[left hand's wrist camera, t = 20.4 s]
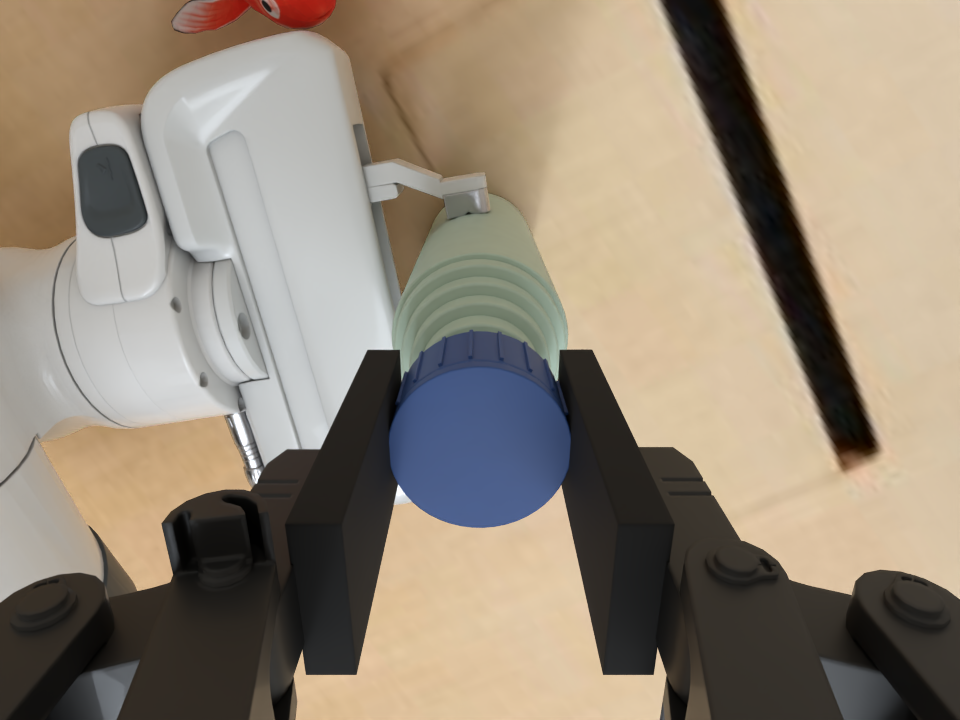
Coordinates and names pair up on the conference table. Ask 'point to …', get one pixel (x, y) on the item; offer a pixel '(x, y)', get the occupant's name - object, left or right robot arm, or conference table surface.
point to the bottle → (480, 286)
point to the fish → (221, 3)
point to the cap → (479, 431)
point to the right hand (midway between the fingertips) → (500, 269)
